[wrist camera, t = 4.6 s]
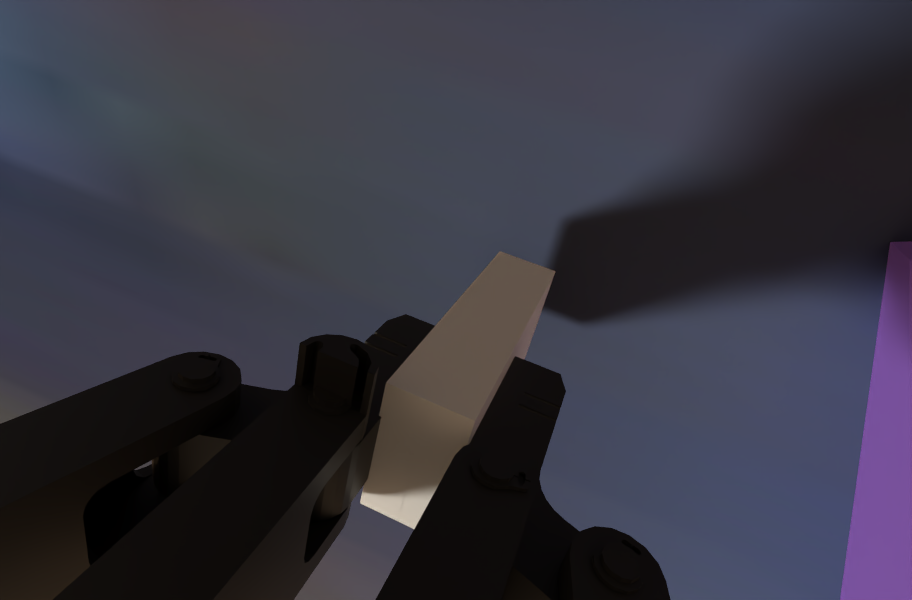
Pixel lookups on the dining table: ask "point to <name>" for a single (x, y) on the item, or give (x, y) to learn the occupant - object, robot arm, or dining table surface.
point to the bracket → (886, 452)
